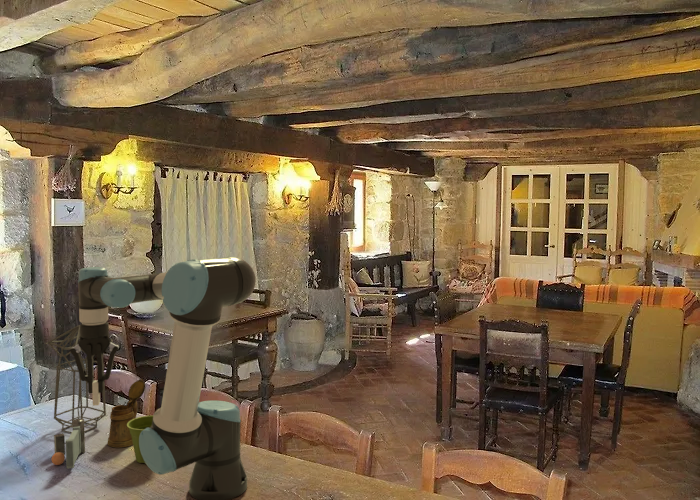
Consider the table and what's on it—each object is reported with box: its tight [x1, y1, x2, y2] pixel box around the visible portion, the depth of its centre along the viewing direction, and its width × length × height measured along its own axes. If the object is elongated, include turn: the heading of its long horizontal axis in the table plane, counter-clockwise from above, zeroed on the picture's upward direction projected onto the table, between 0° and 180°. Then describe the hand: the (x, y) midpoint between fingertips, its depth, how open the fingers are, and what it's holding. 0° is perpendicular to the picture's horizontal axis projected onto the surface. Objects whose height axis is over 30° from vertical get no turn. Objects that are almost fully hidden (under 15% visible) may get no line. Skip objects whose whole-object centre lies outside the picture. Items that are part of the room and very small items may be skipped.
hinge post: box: [73, 418, 86, 456], centre depth 184 cm, size 3×3×10 cm
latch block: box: [53, 433, 66, 456], centre depth 183 cm, size 2×2×6 cm
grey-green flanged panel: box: [65, 426, 81, 469], centre depth 177 cm, size 11×2×8 cm, turn 13°
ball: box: [51, 452, 66, 466], centre depth 176 cm, size 4×4×4 cm
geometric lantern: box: [45, 324, 113, 434], centre depth 202 cm, size 16×16×35 cm
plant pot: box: [127, 414, 154, 465], centre depth 180 cm, size 12×12×11 cm
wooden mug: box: [107, 378, 146, 449], centre depth 194 cm, size 9×14×18 cm, turn 155°
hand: (96, 403), depth 175 cm, fingers closed
